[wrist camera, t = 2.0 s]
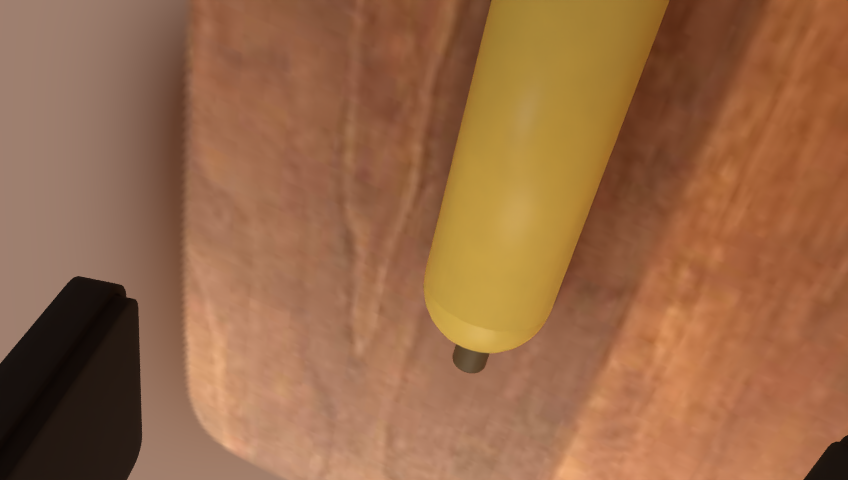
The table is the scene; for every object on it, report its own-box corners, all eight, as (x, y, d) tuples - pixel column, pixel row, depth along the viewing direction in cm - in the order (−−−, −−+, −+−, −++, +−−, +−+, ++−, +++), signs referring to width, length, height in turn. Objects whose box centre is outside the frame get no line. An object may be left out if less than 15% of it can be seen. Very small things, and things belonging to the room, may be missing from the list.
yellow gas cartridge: (495, -178, 14) (659, -130, 12) (597, -163, 16) (747, -121, 14) (380, 347, 21) (470, 427, 19) (462, 305, 24) (548, 371, 22)
